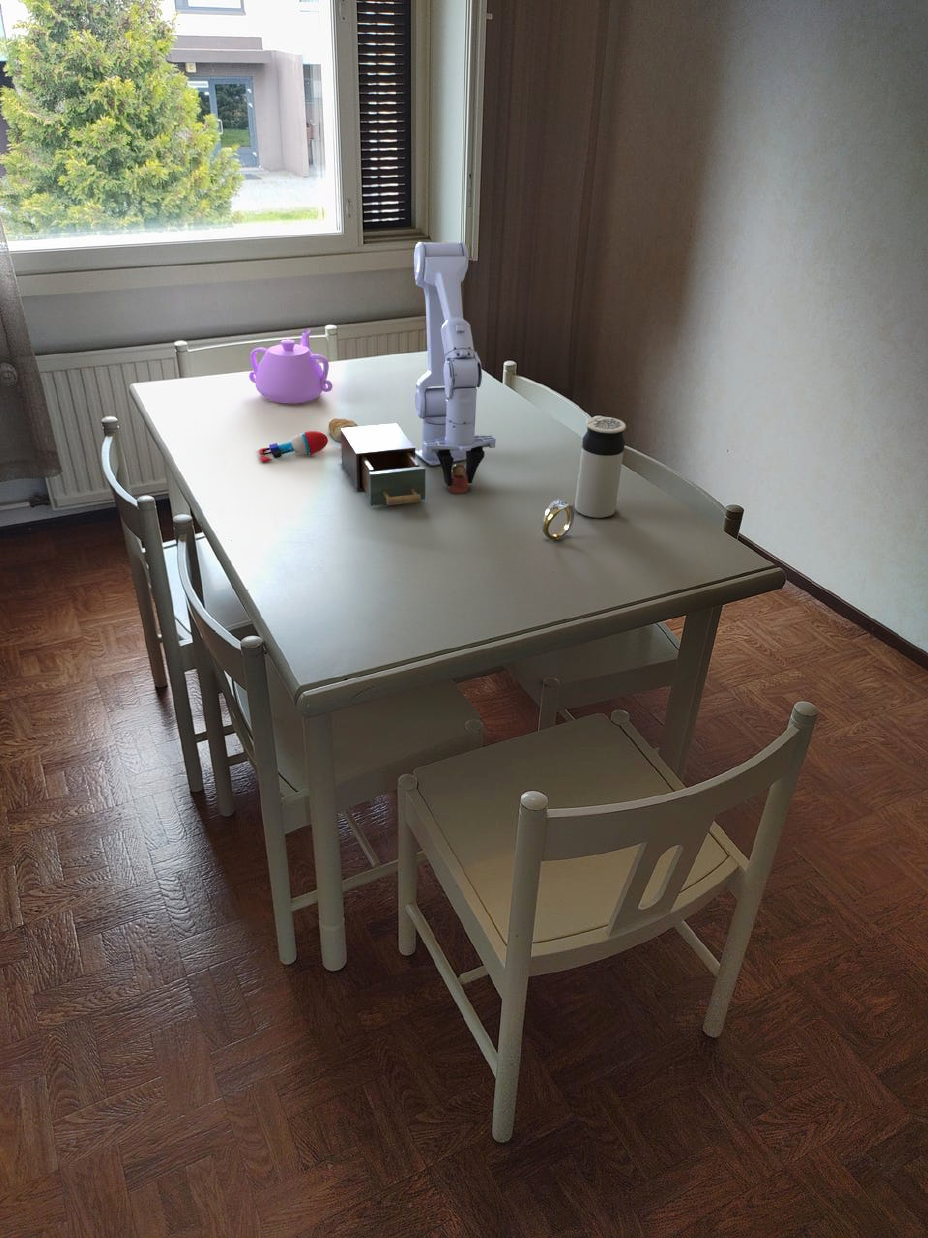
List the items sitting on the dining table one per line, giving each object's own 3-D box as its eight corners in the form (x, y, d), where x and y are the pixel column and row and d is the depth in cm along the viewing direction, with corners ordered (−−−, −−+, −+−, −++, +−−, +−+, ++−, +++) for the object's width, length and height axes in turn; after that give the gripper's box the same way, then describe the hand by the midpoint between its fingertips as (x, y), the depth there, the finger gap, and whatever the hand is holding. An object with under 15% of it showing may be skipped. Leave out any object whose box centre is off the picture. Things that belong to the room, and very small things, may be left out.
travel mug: (622, 511, 180) (635, 424, 170) (597, 522, 175) (609, 434, 166) (591, 497, 185) (602, 412, 175) (566, 508, 180) (576, 422, 170)
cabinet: (415, 485, 186) (415, 447, 182) (357, 491, 183) (356, 453, 178) (396, 459, 197) (396, 423, 193) (341, 464, 194) (340, 428, 189)
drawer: (431, 509, 176) (432, 478, 172) (376, 516, 172) (376, 484, 169) (406, 473, 189) (406, 443, 186) (355, 479, 186) (354, 448, 182)
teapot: (350, 384, 237) (348, 331, 229) (320, 412, 219) (317, 355, 211) (271, 375, 241) (267, 322, 233) (236, 401, 223) (230, 345, 215)
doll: (461, 483, 188) (462, 458, 185) (471, 491, 185) (472, 465, 182) (444, 487, 186) (445, 461, 183) (454, 494, 183) (455, 469, 180)
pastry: (321, 429, 210) (321, 413, 208) (349, 425, 213) (348, 409, 211) (336, 443, 203) (336, 427, 201) (364, 439, 206) (364, 423, 204)
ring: (546, 547, 166) (550, 507, 162) (536, 539, 168) (539, 500, 164) (576, 538, 170) (581, 499, 165) (565, 531, 172) (569, 492, 167)
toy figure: (264, 471, 193) (332, 454, 195) (258, 449, 190) (327, 432, 193) (260, 459, 199) (327, 443, 202) (254, 438, 197) (322, 422, 199)
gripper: (431, 429, 172) (430, 494, 180) (502, 423, 176) (498, 487, 184) (420, 416, 178) (419, 480, 185) (489, 410, 182) (486, 473, 189)
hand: (458, 482), depth 185 cm, fingers closed on doll, 4 cm apart
